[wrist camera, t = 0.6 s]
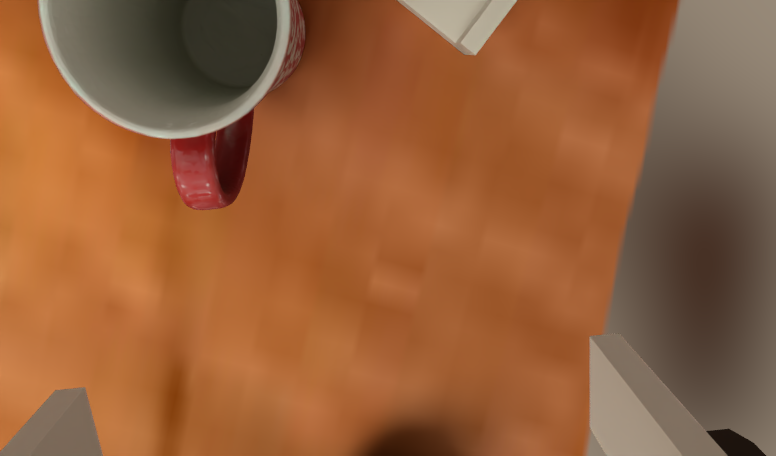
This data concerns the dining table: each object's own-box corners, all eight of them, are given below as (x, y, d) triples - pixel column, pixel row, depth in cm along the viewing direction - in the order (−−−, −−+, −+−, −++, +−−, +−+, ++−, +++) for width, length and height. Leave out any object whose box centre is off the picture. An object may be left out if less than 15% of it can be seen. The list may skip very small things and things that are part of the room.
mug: (153, -61, 34) (18, -131, 21) (320, -56, 34) (289, -122, 21) (169, 168, 37) (62, 231, 24) (321, 171, 38) (294, 234, 25)
